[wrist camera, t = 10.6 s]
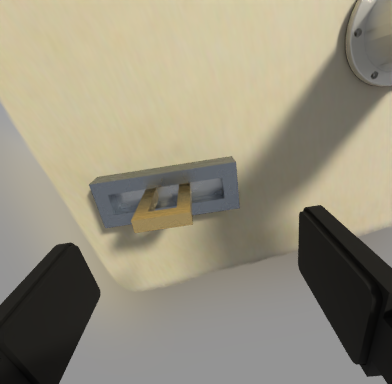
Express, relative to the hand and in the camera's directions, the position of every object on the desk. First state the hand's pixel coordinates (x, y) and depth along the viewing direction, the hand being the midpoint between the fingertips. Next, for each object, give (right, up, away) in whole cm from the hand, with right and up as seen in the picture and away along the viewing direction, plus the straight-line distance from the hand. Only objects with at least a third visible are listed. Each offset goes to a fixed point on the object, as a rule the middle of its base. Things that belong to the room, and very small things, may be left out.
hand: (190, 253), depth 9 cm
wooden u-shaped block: (-4, +3, +23) cm, 24 cm away
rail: (-4, +3, +24) cm, 24 cm away
